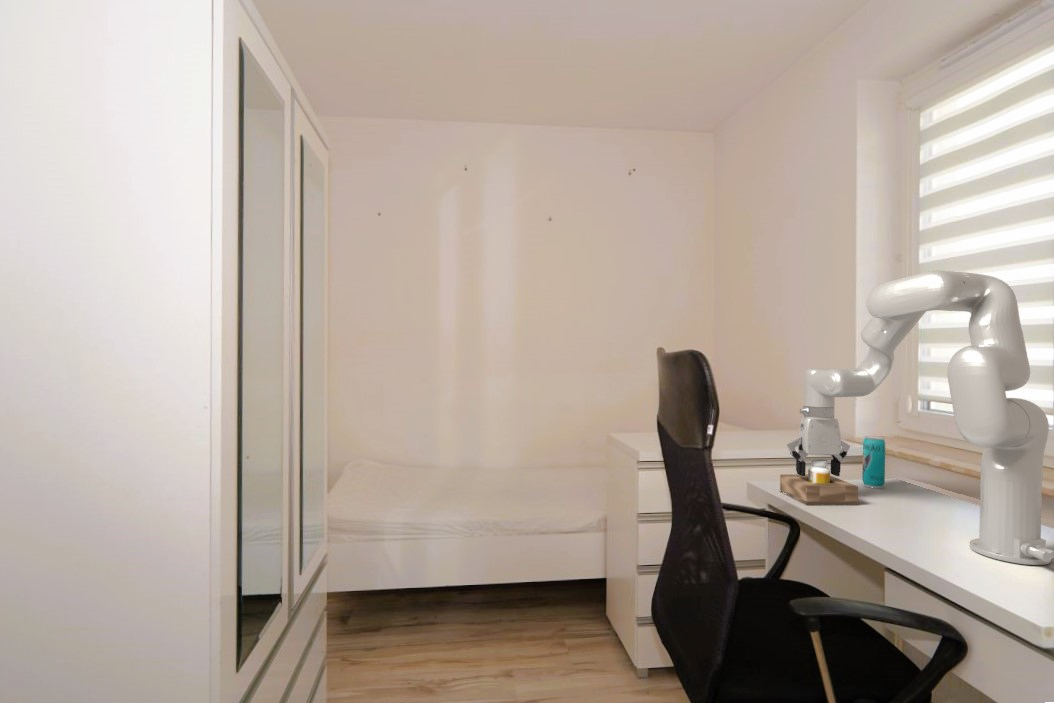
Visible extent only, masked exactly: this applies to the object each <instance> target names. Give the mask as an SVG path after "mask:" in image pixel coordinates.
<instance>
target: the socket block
mask: <svg viewBox="0 0 1054 703" xmlns="http://www.w3.org/2000/svg"><path fill="white" fill-rule="evenodd" d="M779 476H780V477H779V478H780V479H779V480H780V481H779V491H780V490H781V491H782V492H784V493H786V494H787V495H789V496H791V497H793V498H795V499H796V500H795V499H794V500H795V501H797V500H798V501H797V502H799V501H800V502H799V503H801V502H802V503H801V504H803V503H804V505H805V504H806V505H805V506H858V505H859V486H858V485H855V484H853V483H850V482H848V481H845V480H842V479H840V478H837V477H836V476H833V475H830V483H811V482H808V474H805V476H801V475H799V474H780V475H779ZM787 495H786V496H787ZM789 496H788V497H789ZM791 497H790V498H791ZM793 498H792V499H793Z"/></svg>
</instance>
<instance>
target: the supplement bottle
mask: <svg viewBox="0 0 1054 703" xmlns="http://www.w3.org/2000/svg"><path fill="white" fill-rule="evenodd" d="M810 464H811V466H809V467H808V469H807V475H808V482H811V483H830V476H831V469H829V468H828V460H827V459H823V458H811V459H810Z"/></svg>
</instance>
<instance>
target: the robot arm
mask: <svg viewBox="0 0 1054 703" xmlns="http://www.w3.org/2000/svg"><path fill="white" fill-rule="evenodd" d="M865 304H866V309H867V312H868V313H869V314H870V315H871V318H870V320H868V321H867V323H866V325H865V326H864V327H863V329H862V330H861V331H860V338H861V339H862V341H863V343H864V344H866V346H868V347H869V350H868V353H867V355H866V356H865V357H864V360H863V361H861V363H860V364H859V365H858V366H857V368H852V367H851V368H848V367H847V368H845V367H844V368H823V367H822V368H821V367H820V368H819V367H818V368H816V367H814V368H810V367H809V368H807V369H806V370H805V371H804V382H803V383H804V385H803V386H804V387H803V388H804V389H803V390H804V392H803V408H799V413H800V414H801V415H803V416H802V417H801V419H800V423H799V428H798V436H797V439H795V440H793V441H791V442H789V443H788V444H786V446H787V449H788V451H789V454H790V455H791V456H792V457H793V458H794V460H795V471H796V473H797V474H796V475H801V476H805V475H806V466H807V465H806V461H804V460H805V459H806V458H807V457H808V456H830V457H831V458H832V459H830V475H832V476H834V477H840V476H841V475H840V473H841V462H843V460H844V458H845V457H846V456H848V455H847V454H848V452H849V450H850V448H851V445H850V444H848V443H847V442H845V441H843V440H842V439H841V431H840V425H839V420H838V418H835V412H836V411H835V402H836V400H835V398H854V397H865V396H868V395H870V394H872V393H873V392H874V391H875V390H877V388H878V387H879V386H880V385H881V384H882V383H883V382H884V380H885V379H886V378H887V376H889V374H890V372H891V371H892V366H893V363H894V358H895V350H897V347H898V346H899V345H900V344H901V343H902V341H903V340H904V339H905V338H906V337H907V335H908V334H910V332H911V330H912V329H913V328H914V327H915V325H917V323H918V322H919V321H920V320H921V318H922V317H923V316H924V315H925V313H927V312H930V311H947V312H967V313H969V314H971V315H970V317H969V322H968V334H969V338H970V345H967V346H965V347H963V348H960V349H958V350H957V351H956V352H955V353H954V354H953V355H952V357H951V358H950V360H949V363H948V367H947V373H946V374H947V382H948V387H949V393H950V399H951V405H952V410H953V417H954V420H955V424H956V425H955V426H956V428H957V430H958V432H959V434H960V435H961V437H962V438H963V439H964V440H965V441H966V442H968V443H969V444H971V445H973V446H976V447H979V448H984V449H983V451H982V456H981V460H980V482H979V483H980V484H979V487H980V488H979V489H980V490H979V527H978V528H979V529H978V530H979V531H978V532H979V535H978V538H973V539H971V540H970V541H969V548H970V549H971V550H973V552H975V553H977V554H980V555H982V556H984V557H988V558H992V559H995V560H999V561H1003V562H1008V563H1012V564H1020V565H1028V566H1043V565H1044V566H1045V565H1049V564H1051V562H1052V560H1053V559H1054V549H1050V548H1046V545H1047V544H1046V542H1047V540H1046V539H1045V538H1042V537H1041V536H1042V535H1041V533H1042V499H1043V497H1042V496H1043V495H1042V494H1043V489H1042V488H1043V470H1044V469H1043V467H1044V457H1045V451H1046V446H1047V442H1048V437H1049V431H1050V430H1049V429H1050V426H1049V425H1050V424H1049V420H1048V417H1047V414H1045V412H1044V410H1043V409H1042V408H1041V407H1039V405H1037V404H1035V403H1034V402H1032V401H1030V400H1027V399H1023V398H1017V397H1016V398H1015V397H1007V394H1006V392H1010V391H1016V390H1019V389H1021V388H1022V387H1024V386H1025V385H1027V383H1028V382H1029V380H1030V377H1031V368H1030V361H1029V358H1028V352H1027V348H1026V341H1025V337H1024V331H1023V329H1022V324H1021V319H1020V312H1019V305H1018V300H1017V297H1016V295H1015V292H1014V290H1013V289H1012V287H1011V286H1009V284H1008V283H1006V282H1005V281H1004V280H1002V279H1000V278H998V277H995V276H992V275H987V274H981V273H973V272H964V271H953V270H952V271H951V270H937V269H936V270H931V271H930V270H928V271H925V272H920V273H916V274H913V275H909V276H905V277H902V278H898V279H894V280H889V281H886V282H883V283H881V284H878V285H877V286H875V287H874V288H873V289H872V290H871V291H870V292H869V294H868V296H867V298H866V303H865ZM796 447H797V450H798V451H797V450H796Z"/></svg>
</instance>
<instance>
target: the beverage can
mask: <svg viewBox="0 0 1054 703" xmlns="http://www.w3.org/2000/svg"><path fill="white" fill-rule="evenodd" d="M863 438H864V439H863V441H862V476H861V477H862V479H861V480H862V483H863V485H864V487H866V486H867V487H866V488H868V487H873V488H872V489H875V488H881V489H883V487H884V485H885V482H886V481H885V479H886V478H885V477H886V475H885V474H886V441H885V437H882V436H876V435H865V436H864V437H863Z"/></svg>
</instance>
